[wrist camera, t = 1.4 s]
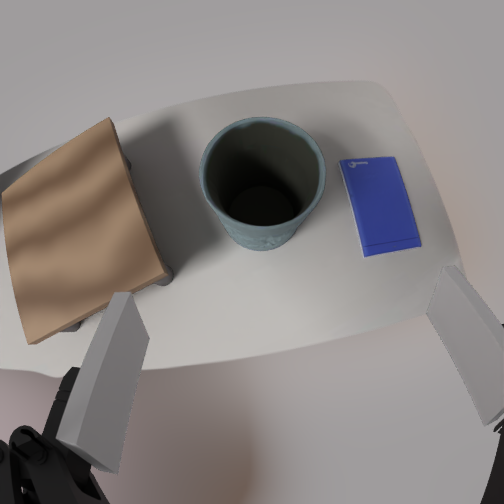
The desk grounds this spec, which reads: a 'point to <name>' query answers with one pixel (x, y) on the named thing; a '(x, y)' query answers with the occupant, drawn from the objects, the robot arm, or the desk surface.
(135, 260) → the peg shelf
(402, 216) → the hard drive
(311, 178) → the teal plant pot
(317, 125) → the desk surface
